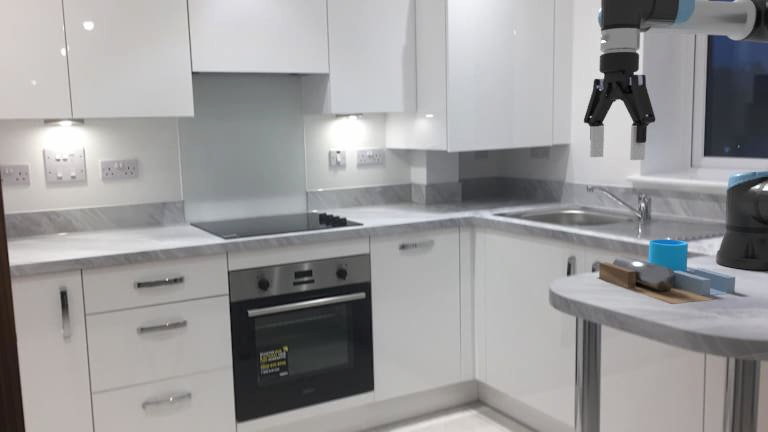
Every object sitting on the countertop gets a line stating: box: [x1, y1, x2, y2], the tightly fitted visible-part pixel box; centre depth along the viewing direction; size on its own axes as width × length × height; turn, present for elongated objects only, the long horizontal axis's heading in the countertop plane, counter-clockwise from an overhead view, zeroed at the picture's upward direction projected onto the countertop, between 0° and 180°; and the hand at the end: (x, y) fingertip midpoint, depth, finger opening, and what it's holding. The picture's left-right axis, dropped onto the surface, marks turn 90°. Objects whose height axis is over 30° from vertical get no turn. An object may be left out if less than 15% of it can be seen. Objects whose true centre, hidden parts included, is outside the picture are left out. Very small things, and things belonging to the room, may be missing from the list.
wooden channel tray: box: [597, 262, 716, 305], centre depth 144 cm, size 10×24×5 cm, turn 17°
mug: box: [648, 238, 689, 273], centre depth 162 cm, size 12×8×8 cm
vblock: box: [674, 268, 736, 297], centre depth 143 cm, size 8×10×4 cm
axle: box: [612, 255, 676, 292], centre depth 147 cm, size 14×5×5 cm, turn 17°
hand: (616, 158), depth 143 cm, fingers open, 13 cm apart
